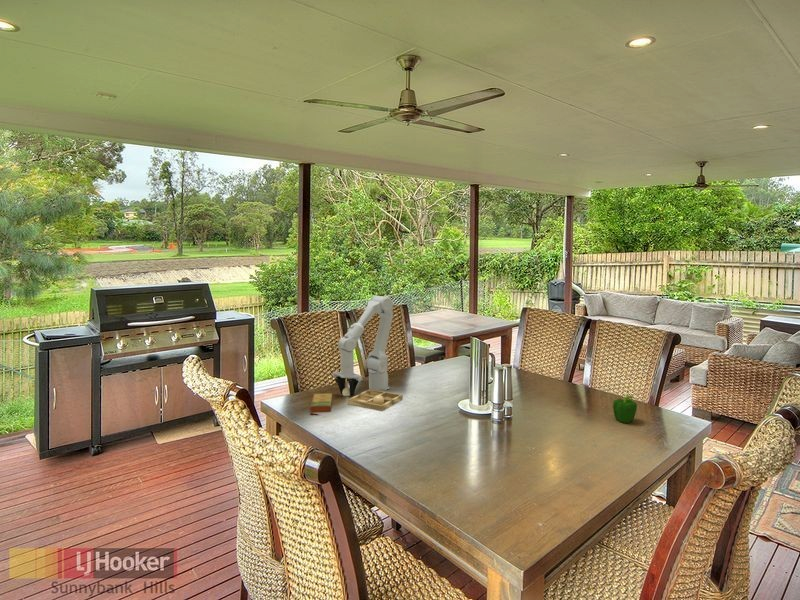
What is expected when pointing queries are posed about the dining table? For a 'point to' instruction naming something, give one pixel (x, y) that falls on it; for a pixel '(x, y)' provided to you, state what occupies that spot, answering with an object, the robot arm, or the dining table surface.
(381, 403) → the tan ball
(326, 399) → the carton
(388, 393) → the egg rack
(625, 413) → the bell pepper
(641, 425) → the dining table surface
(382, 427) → the dining table surface
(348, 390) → the white egg
